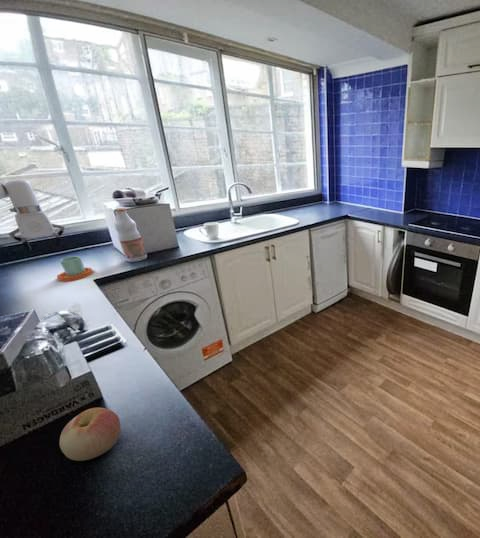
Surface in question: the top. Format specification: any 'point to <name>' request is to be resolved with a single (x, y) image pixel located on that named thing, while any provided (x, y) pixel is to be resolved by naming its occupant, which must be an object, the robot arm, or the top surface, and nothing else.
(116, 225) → the fruit juice
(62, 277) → the ring
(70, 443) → the apple
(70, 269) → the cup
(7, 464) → the top surface
